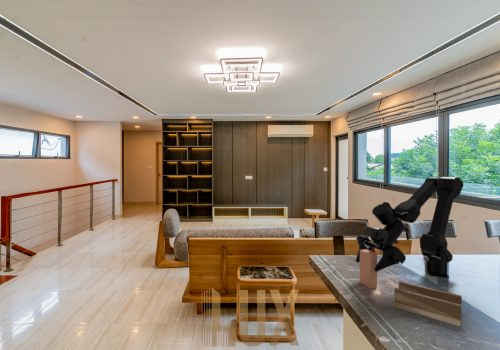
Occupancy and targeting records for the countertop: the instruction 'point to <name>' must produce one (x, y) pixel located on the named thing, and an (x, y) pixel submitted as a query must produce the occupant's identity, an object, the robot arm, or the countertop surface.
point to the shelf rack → (429, 302)
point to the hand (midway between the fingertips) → (365, 266)
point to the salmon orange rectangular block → (368, 268)
